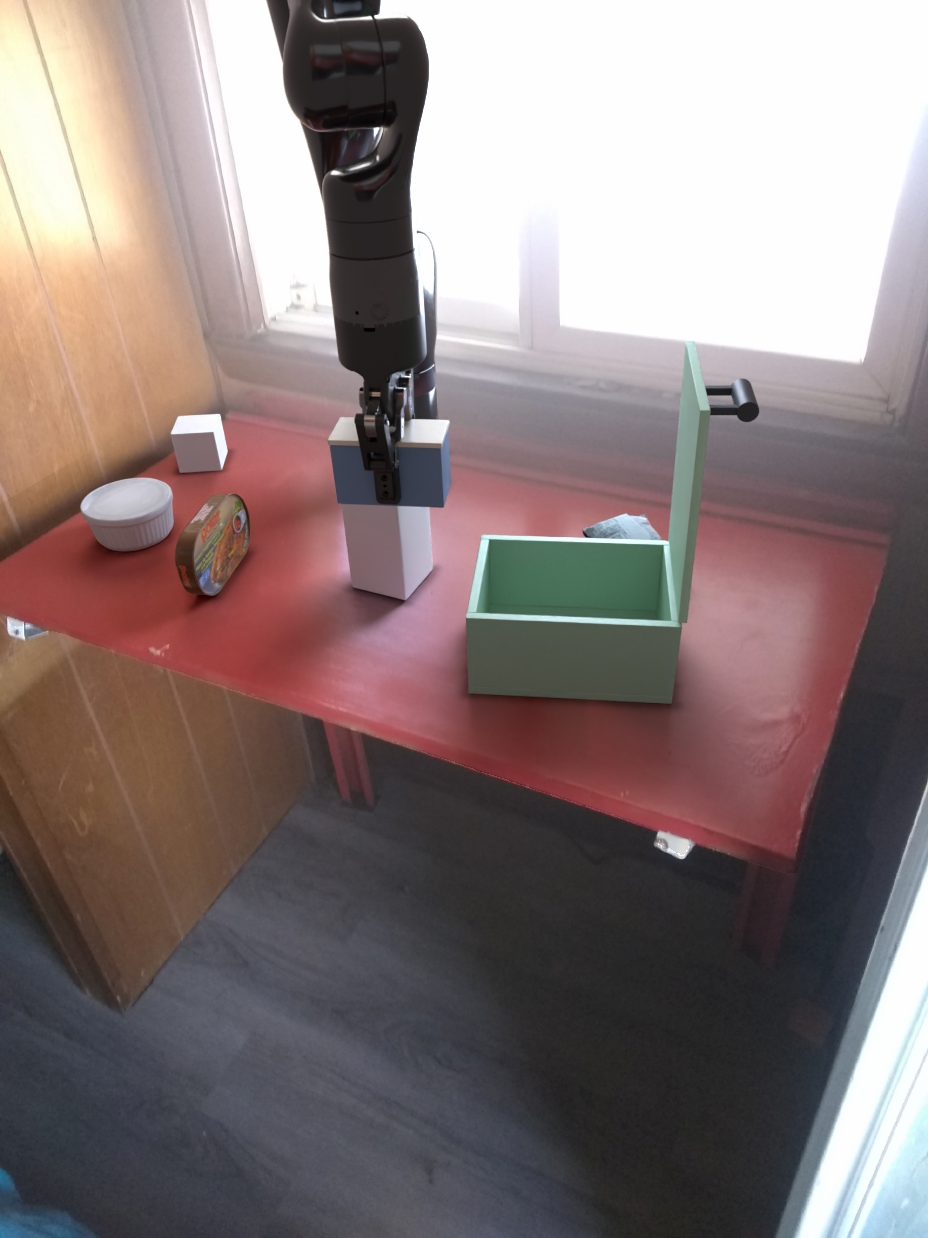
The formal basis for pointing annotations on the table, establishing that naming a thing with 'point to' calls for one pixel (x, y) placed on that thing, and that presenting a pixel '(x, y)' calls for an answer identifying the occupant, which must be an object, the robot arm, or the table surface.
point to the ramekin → (129, 513)
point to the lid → (696, 464)
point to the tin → (213, 544)
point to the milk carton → (388, 547)
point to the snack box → (418, 468)
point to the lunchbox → (573, 619)
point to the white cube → (199, 443)
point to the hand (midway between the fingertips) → (394, 487)
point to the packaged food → (623, 529)
